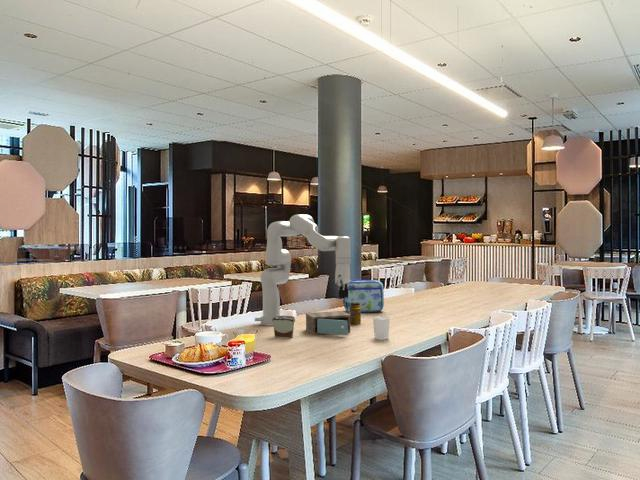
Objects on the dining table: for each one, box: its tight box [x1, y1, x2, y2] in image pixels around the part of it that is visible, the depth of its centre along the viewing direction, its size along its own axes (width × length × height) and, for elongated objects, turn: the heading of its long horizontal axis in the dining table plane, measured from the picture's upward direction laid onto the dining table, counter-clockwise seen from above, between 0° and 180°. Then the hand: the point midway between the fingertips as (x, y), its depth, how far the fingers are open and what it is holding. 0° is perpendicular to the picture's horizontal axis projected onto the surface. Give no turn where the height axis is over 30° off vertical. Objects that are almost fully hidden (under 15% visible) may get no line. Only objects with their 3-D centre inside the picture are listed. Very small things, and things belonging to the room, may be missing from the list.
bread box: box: [305, 310, 351, 336], centre depth 274 cm, size 20×14×9 cm
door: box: [317, 319, 349, 336], centre depth 261 cm, size 16×2×7 cm, turn 67°
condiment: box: [349, 302, 363, 327], centre depth 293 cm, size 7×8×12 cm
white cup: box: [372, 316, 390, 341], centre depth 254 cm, size 8×8×10 cm
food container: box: [272, 315, 296, 339], centre depth 262 cm, size 12×6×10 cm, turn 71°
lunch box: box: [342, 278, 385, 313], centre depth 337 cm, size 26×11×21 cm, turn 77°
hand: (343, 297), depth 262 cm, fingers open, 3 cm apart
